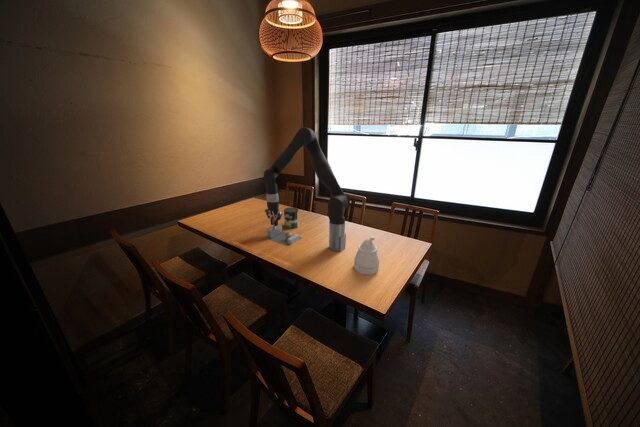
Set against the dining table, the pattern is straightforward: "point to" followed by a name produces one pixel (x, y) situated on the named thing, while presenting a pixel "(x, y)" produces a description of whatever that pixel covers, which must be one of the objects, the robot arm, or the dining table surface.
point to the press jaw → (274, 230)
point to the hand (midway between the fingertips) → (274, 225)
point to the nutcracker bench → (284, 239)
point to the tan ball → (288, 234)
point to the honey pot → (367, 257)
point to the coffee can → (291, 218)
